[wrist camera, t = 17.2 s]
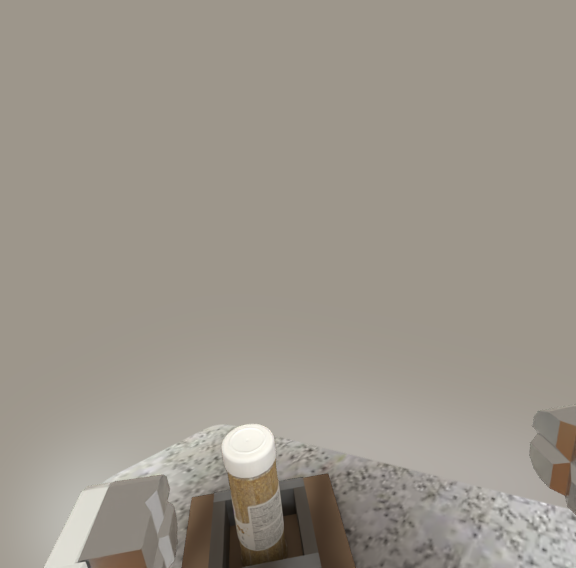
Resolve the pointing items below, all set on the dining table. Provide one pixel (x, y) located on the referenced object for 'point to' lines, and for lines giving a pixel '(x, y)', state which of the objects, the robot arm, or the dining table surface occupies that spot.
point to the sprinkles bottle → (255, 493)
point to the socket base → (297, 529)
